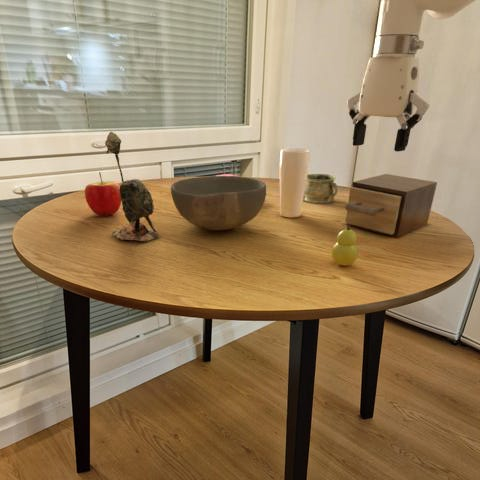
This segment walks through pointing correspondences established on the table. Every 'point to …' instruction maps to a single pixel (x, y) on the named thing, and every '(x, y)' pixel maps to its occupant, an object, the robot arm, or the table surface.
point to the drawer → (373, 209)
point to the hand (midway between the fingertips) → (378, 147)
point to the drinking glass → (293, 180)
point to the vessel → (320, 188)
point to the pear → (345, 247)
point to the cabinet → (404, 200)
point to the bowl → (218, 200)
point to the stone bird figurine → (132, 202)
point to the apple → (103, 197)
